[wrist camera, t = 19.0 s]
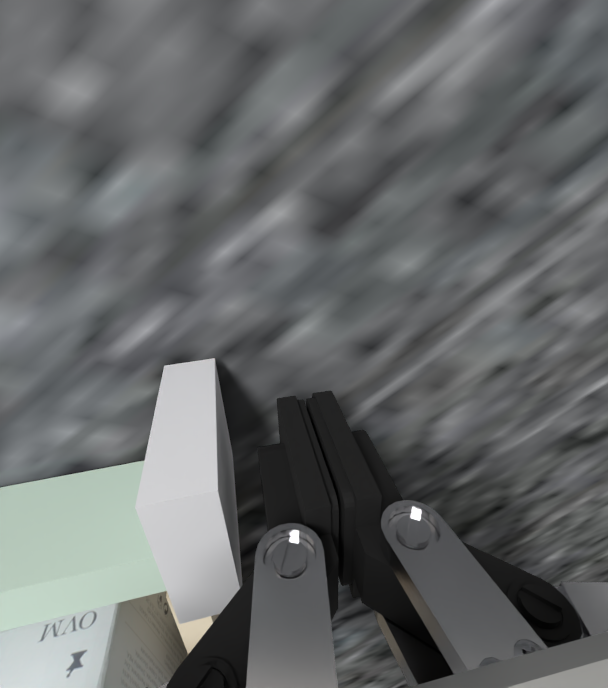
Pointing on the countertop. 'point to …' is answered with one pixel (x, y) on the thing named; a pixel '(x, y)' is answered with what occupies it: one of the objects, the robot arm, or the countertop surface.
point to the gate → (132, 519)
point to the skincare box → (96, 648)
